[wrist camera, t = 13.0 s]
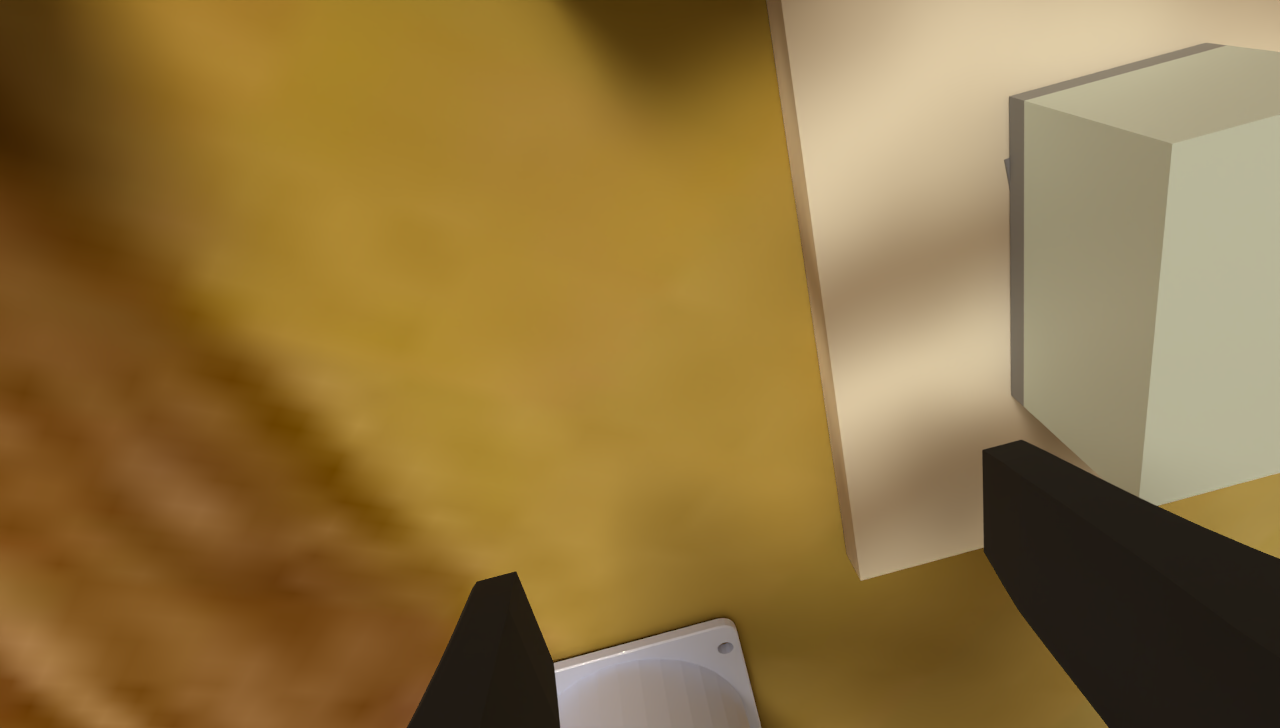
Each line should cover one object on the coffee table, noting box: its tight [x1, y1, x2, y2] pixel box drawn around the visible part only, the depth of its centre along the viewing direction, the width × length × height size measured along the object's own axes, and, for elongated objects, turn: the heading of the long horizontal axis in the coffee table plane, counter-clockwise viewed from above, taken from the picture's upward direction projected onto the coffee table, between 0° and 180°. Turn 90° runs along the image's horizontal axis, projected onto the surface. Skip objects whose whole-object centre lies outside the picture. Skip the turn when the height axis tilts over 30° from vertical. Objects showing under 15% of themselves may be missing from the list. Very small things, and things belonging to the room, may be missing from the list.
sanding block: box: [1009, 43, 1280, 506], centre depth 17 cm, size 8×4×5 cm, turn 14°
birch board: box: [766, 0, 1280, 581], centre depth 20 cm, size 18×14×1 cm
